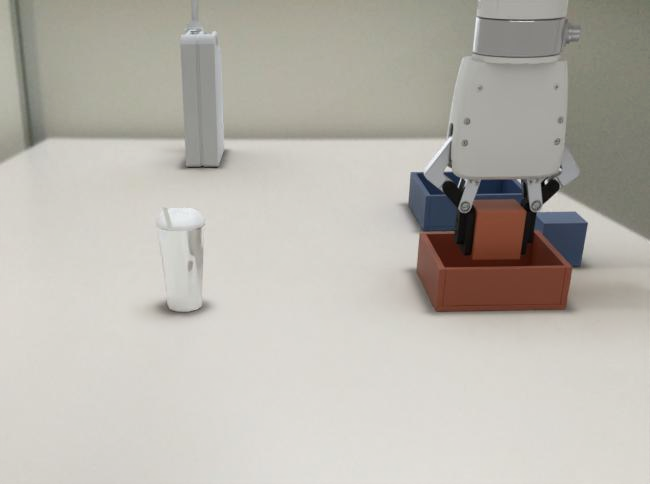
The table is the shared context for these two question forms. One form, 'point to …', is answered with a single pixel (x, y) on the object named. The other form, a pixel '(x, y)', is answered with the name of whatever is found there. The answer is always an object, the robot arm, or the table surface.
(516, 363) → the table surface
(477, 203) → the terracotta block
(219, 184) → the table surface
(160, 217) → the milkshake
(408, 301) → the table surface
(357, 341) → the table surface
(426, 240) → the terracotta bin
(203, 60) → the jerry can
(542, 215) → the slate block
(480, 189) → the slate bin
